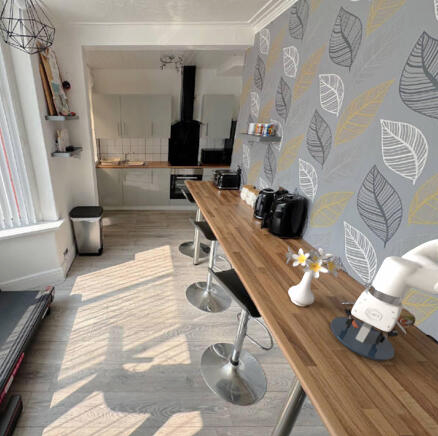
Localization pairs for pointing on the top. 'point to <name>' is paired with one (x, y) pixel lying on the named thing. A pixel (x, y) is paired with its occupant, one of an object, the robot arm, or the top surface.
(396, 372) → the top surface
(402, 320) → the tin
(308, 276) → the flower vase
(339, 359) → the top surface
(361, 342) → the rotary dial knob
